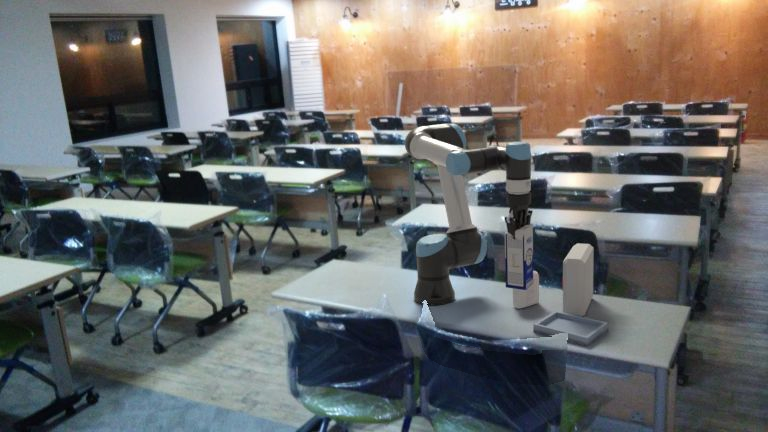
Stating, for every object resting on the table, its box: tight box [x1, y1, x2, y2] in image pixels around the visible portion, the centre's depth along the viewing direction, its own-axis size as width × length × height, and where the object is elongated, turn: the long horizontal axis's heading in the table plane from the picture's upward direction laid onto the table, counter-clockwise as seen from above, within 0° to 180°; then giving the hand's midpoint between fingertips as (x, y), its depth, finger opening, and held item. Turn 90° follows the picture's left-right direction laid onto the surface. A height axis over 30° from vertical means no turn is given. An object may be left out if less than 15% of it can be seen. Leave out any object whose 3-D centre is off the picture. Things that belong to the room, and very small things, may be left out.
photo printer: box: [512, 270, 540, 309], centre depth 217 cm, size 10×4×12 cm, turn 123°
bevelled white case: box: [561, 243, 595, 317], centre depth 212 cm, size 21×8×20 cm, turn 154°
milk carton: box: [504, 224, 534, 290], centre depth 198 cm, size 7×7×20 cm
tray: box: [532, 310, 609, 347], centre depth 194 cm, size 18×14×2 cm
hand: (519, 263), depth 199 cm, fingers closed
